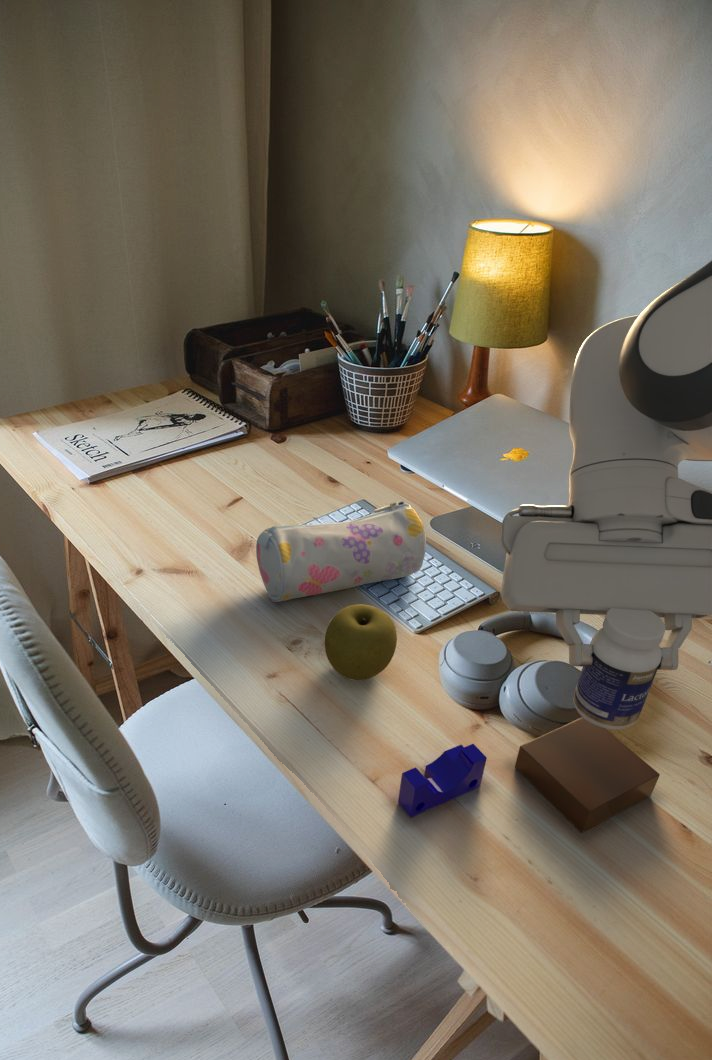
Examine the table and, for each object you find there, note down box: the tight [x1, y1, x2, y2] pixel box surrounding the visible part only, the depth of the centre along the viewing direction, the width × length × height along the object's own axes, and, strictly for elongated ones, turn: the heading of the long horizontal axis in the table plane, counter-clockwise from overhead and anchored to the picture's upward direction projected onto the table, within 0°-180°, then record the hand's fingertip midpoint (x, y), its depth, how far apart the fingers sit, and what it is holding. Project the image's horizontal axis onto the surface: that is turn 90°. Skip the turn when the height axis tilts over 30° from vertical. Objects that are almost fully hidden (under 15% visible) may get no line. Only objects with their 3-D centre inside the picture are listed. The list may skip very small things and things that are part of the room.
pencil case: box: [255, 500, 427, 603], centre depth 101 cm, size 21×9×10 cm, turn 113°
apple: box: [323, 603, 398, 681], centre depth 89 cm, size 8×8×7 cm
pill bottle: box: [572, 608, 666, 730], centre depth 70 cm, size 6×6×10 cm
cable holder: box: [397, 743, 488, 818], centre depth 76 cm, size 8×4×4 cm, turn 118°
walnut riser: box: [514, 716, 661, 833], centre depth 78 cm, size 9×9×3 cm
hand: (623, 668), depth 69 cm, fingers closed on pill bottle, 6 cm apart
